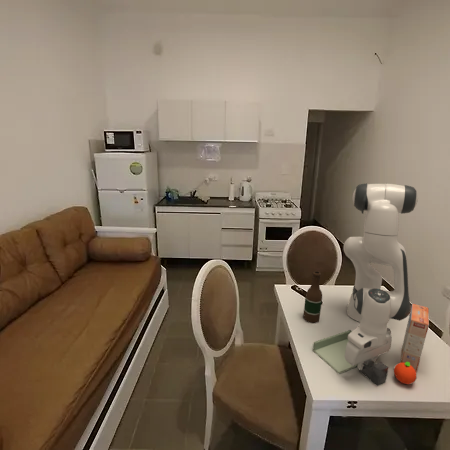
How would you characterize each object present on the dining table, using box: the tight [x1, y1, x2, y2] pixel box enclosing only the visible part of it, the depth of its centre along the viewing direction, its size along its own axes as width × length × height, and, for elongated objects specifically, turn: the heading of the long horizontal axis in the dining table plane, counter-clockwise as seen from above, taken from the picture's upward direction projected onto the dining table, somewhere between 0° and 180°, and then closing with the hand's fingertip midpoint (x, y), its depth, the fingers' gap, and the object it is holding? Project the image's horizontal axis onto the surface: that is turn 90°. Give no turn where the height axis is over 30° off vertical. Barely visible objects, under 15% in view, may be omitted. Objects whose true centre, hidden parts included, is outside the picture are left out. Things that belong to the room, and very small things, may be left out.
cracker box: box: [399, 303, 430, 374], centre depth 119 cm, size 14×6×21 cm, turn 148°
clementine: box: [393, 362, 417, 385], centre depth 110 cm, size 8×7×7 cm
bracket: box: [358, 360, 389, 387], centre depth 112 cm, size 8×4×6 cm, turn 26°
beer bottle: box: [303, 270, 323, 324], centre depth 144 cm, size 8×8×24 cm
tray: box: [312, 329, 358, 375], centre depth 123 cm, size 20×14×4 cm
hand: (365, 366), depth 115 cm, fingers closed on bracket, 4 cm apart
